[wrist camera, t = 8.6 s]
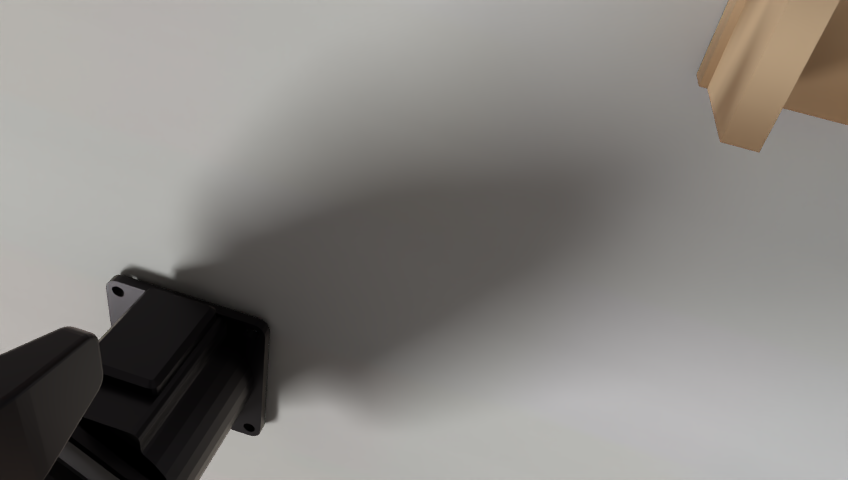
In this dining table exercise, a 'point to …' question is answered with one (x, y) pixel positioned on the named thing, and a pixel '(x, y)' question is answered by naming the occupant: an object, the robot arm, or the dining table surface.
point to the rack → (776, 66)
